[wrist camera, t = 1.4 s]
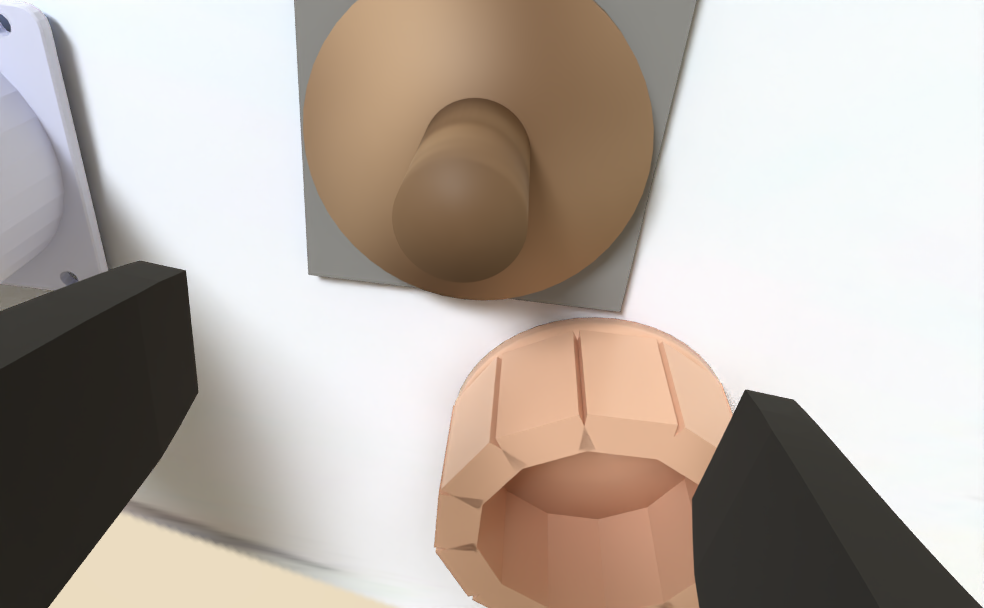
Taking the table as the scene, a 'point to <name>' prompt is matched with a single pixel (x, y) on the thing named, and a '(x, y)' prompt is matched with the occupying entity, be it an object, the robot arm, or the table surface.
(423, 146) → the lid
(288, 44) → the table surface
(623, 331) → the peach cylinder
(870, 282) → the table surface
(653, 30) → the mat
